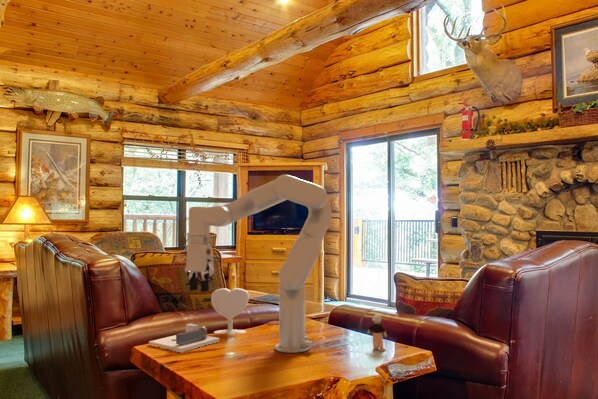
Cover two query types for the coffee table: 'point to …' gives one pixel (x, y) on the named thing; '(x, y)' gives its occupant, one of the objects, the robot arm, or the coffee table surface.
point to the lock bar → (191, 335)
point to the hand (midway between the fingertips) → (199, 290)
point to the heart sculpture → (229, 305)
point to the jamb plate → (171, 343)
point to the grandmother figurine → (377, 333)
